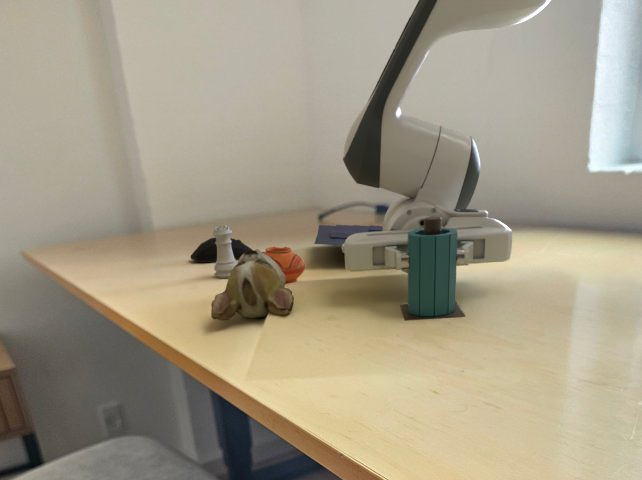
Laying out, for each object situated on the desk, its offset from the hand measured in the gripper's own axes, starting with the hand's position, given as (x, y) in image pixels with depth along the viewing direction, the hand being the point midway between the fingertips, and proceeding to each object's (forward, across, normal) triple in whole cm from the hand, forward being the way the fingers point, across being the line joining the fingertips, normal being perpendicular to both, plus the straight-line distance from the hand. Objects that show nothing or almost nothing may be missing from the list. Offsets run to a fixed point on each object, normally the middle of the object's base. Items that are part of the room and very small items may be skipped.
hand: (433, 260), depth 75 cm
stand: (-1, 0, +8) cm, 8 cm away
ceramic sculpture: (-9, -22, +8) cm, 25 cm away
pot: (-23, -20, +8) cm, 31 cm away
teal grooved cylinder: (-1, 0, +6) cm, 6 cm away
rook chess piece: (-35, -30, +8) cm, 47 cm away
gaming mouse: (-51, -32, +8) cm, 61 cm away
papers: (-46, 0, +8) cm, 47 cm away
